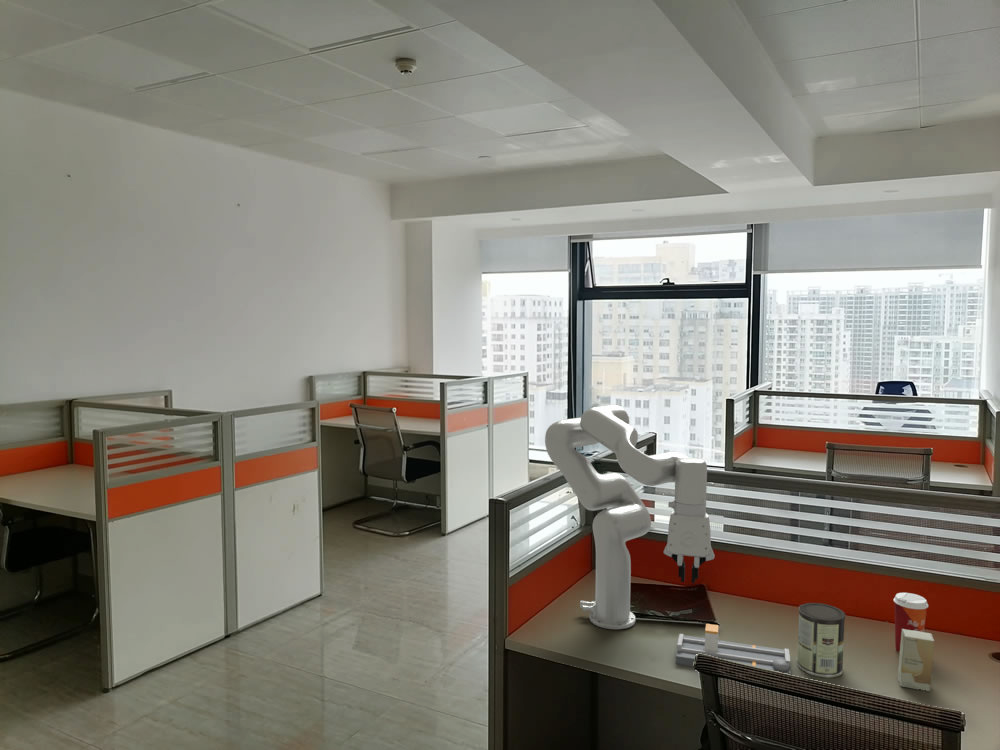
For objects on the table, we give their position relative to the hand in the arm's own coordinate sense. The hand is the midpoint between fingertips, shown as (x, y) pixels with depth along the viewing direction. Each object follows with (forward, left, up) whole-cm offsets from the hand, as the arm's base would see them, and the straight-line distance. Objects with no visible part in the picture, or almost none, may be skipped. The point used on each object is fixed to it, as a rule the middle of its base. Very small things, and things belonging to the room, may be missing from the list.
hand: (688, 580), depth 182 cm
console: (+11, 0, -19) cm, 22 cm away
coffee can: (+31, +3, -19) cm, 37 cm away
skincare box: (+51, +1, -19) cm, 55 cm away
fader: (+6, 0, -17) cm, 18 cm away
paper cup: (+53, +19, -19) cm, 60 cm away
